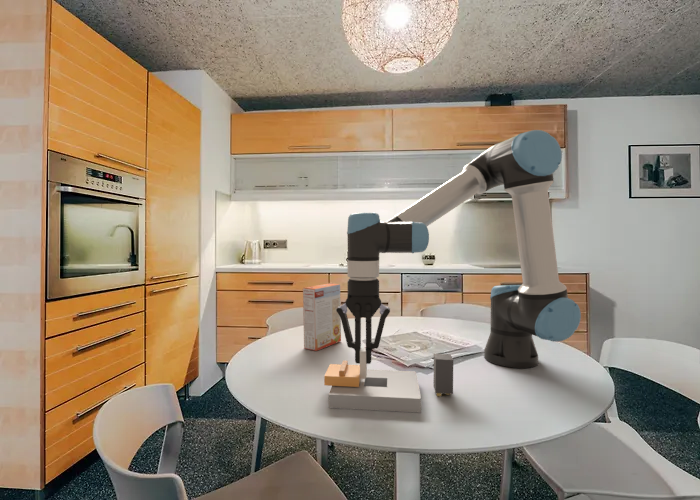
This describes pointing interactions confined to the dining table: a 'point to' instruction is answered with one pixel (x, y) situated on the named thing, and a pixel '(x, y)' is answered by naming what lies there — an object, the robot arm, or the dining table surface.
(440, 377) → the plug
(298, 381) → the dining table surface
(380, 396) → the socket plate
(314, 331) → the cracker box
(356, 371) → the orange ridged block
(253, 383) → the dining table surface
